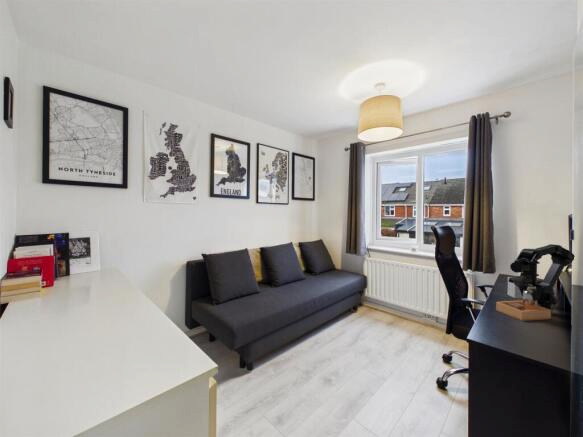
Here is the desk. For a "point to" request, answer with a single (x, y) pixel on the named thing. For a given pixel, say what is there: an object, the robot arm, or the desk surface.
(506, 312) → the tote
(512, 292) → the supplement box
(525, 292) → the grey cylinder
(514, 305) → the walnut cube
